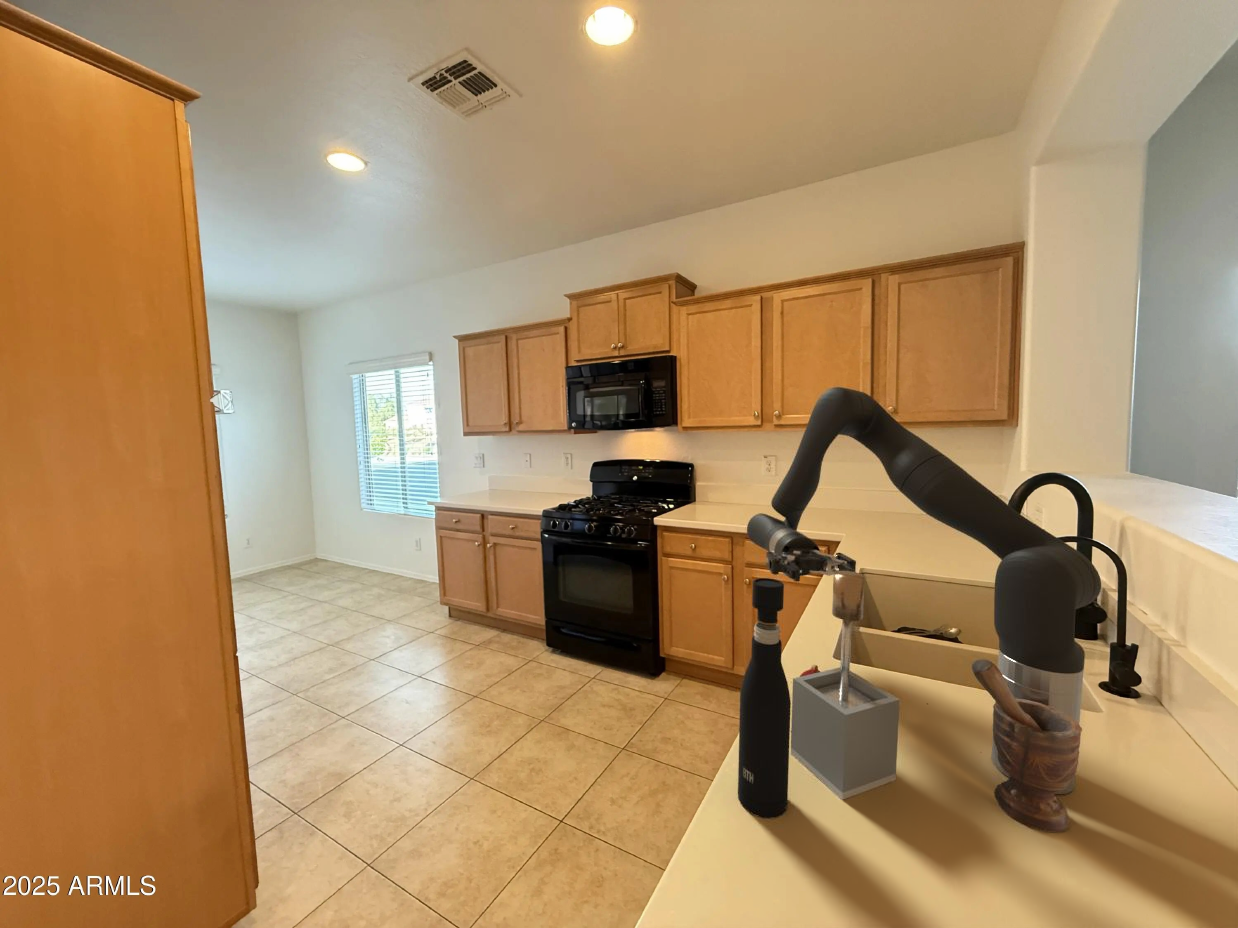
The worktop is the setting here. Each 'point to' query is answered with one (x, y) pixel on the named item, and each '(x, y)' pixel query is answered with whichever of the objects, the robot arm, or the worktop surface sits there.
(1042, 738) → the mortar and pestle
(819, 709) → the grey open box
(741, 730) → the black water bottle
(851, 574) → the plunger
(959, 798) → the worktop surface
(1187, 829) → the worktop surface
